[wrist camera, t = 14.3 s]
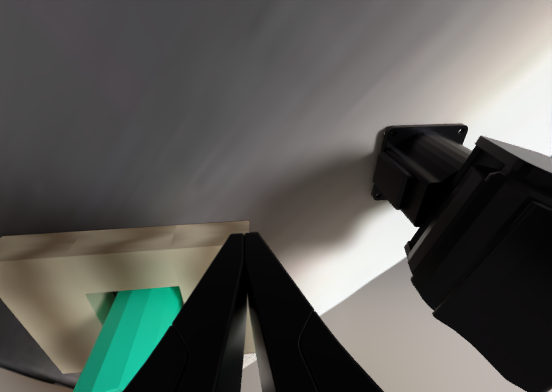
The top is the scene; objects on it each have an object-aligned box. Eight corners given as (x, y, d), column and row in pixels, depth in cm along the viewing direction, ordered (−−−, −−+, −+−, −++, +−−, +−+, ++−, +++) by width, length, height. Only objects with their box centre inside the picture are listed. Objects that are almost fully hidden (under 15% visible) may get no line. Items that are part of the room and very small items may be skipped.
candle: (197, 288, 28) (173, 437, 18) (158, 315, 30) (117, 466, 20) (147, 259, 25) (85, 415, 15) (108, 290, 27) (28, 451, 17)
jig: (248, 220, 24) (249, 243, 22) (255, 327, 33) (256, 352, 30) (2, 236, 22) (-29, 263, 20) (77, 345, 31) (63, 373, 28)
